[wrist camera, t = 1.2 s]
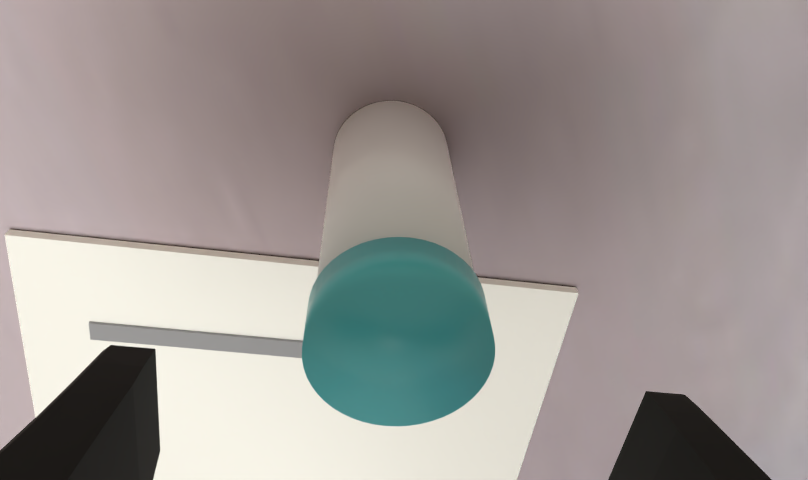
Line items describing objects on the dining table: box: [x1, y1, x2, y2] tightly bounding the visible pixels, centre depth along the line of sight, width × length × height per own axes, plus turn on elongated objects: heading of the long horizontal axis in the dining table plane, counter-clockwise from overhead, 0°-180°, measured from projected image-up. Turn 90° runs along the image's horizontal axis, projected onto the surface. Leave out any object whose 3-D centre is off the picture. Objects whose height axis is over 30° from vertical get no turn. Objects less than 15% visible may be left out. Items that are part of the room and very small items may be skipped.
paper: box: [5, 229, 579, 480], centre depth 23 cm, size 16×13×1 cm
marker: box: [302, 101, 495, 426], centre depth 15 cm, size 3×3×8 cm
